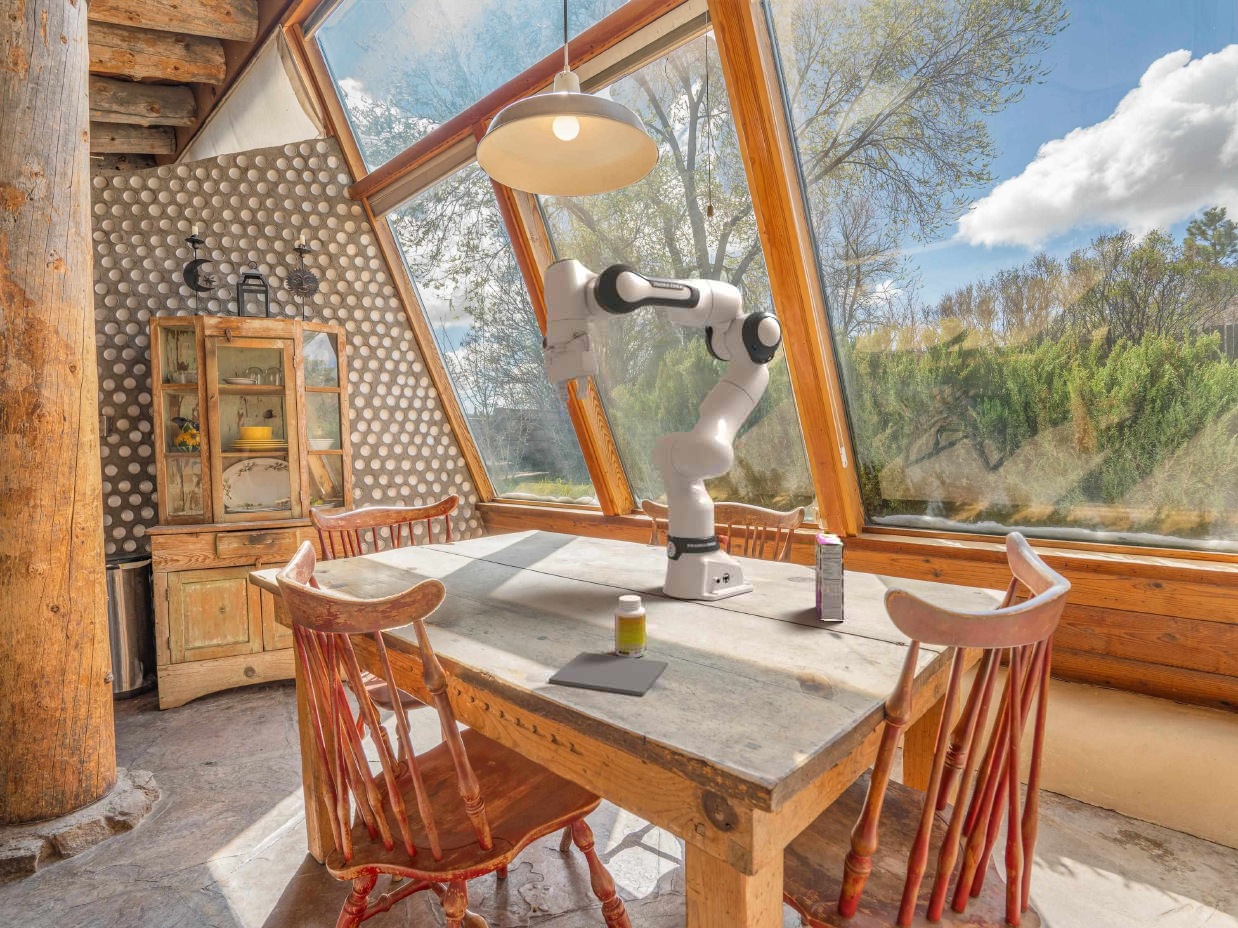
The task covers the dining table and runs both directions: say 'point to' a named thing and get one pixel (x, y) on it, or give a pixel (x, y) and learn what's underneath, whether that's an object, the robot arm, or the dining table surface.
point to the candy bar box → (829, 576)
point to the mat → (610, 673)
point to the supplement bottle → (630, 627)
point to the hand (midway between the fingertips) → (573, 400)
